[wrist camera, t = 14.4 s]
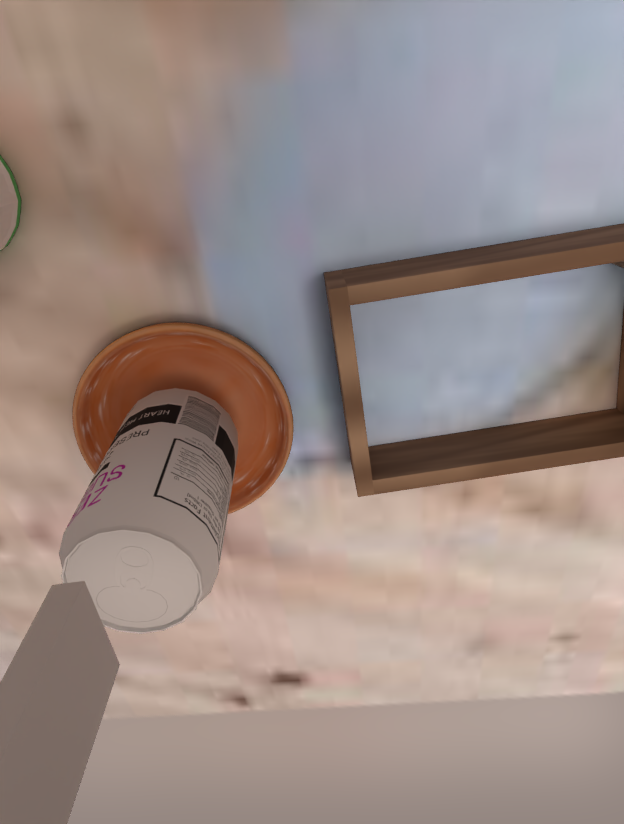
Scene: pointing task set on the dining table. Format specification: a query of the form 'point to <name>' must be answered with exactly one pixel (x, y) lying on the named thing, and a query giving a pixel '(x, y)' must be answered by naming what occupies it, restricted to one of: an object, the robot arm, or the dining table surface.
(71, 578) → the supplement can
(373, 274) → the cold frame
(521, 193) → the dining table surface
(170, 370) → the saucer
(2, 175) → the cup
